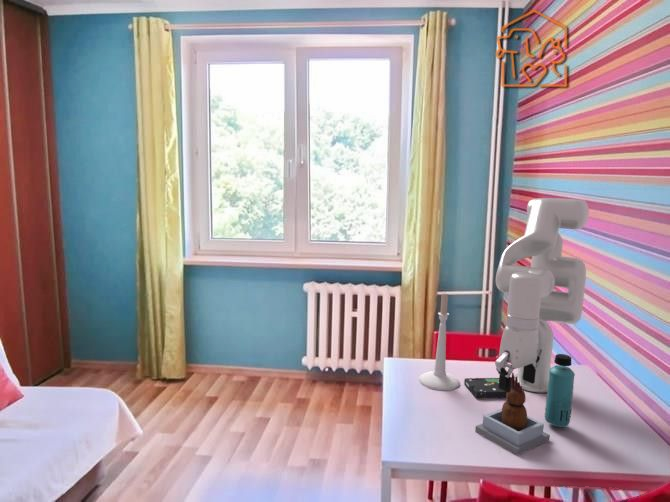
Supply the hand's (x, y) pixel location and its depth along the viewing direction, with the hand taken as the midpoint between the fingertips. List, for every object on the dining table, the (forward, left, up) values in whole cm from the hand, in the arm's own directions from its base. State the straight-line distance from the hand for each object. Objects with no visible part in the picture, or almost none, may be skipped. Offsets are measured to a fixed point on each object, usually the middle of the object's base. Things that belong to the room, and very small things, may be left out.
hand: (516, 385), depth 129 cm
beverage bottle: (-15, +3, -14) cm, 20 cm away
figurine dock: (0, 0, -14) cm, 14 cm away
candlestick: (-8, -34, -14) cm, 37 cm away
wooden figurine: (0, 0, -12) cm, 12 cm away
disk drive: (-17, -20, -14) cm, 30 cm away
